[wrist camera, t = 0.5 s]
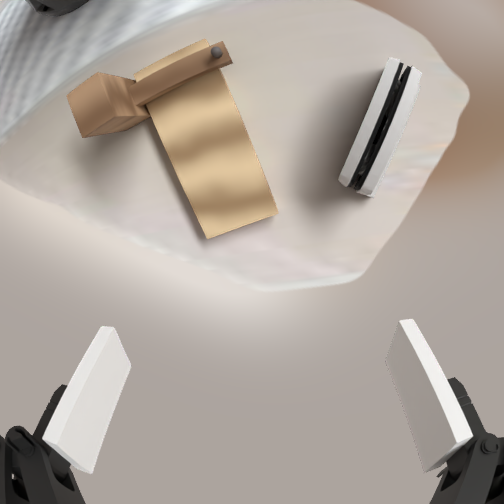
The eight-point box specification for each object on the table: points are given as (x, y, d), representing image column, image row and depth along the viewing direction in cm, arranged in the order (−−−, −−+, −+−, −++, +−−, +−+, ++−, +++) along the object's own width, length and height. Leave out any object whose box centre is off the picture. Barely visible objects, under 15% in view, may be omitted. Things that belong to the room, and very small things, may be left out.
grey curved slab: (371, 199, 34) (377, 212, 25) (338, 182, 35) (332, 189, 26) (419, 87, 27) (438, 63, 18) (385, 70, 28) (394, 41, 19)
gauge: (112, 97, 29) (66, 95, 20) (222, 41, 26) (208, 12, 17) (126, 130, 31) (82, 138, 22) (238, 76, 28) (230, 58, 19)
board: (139, 76, 28) (133, 74, 26) (208, 42, 26) (205, 38, 24) (209, 232, 36) (207, 239, 35) (277, 208, 35) (278, 213, 33)
